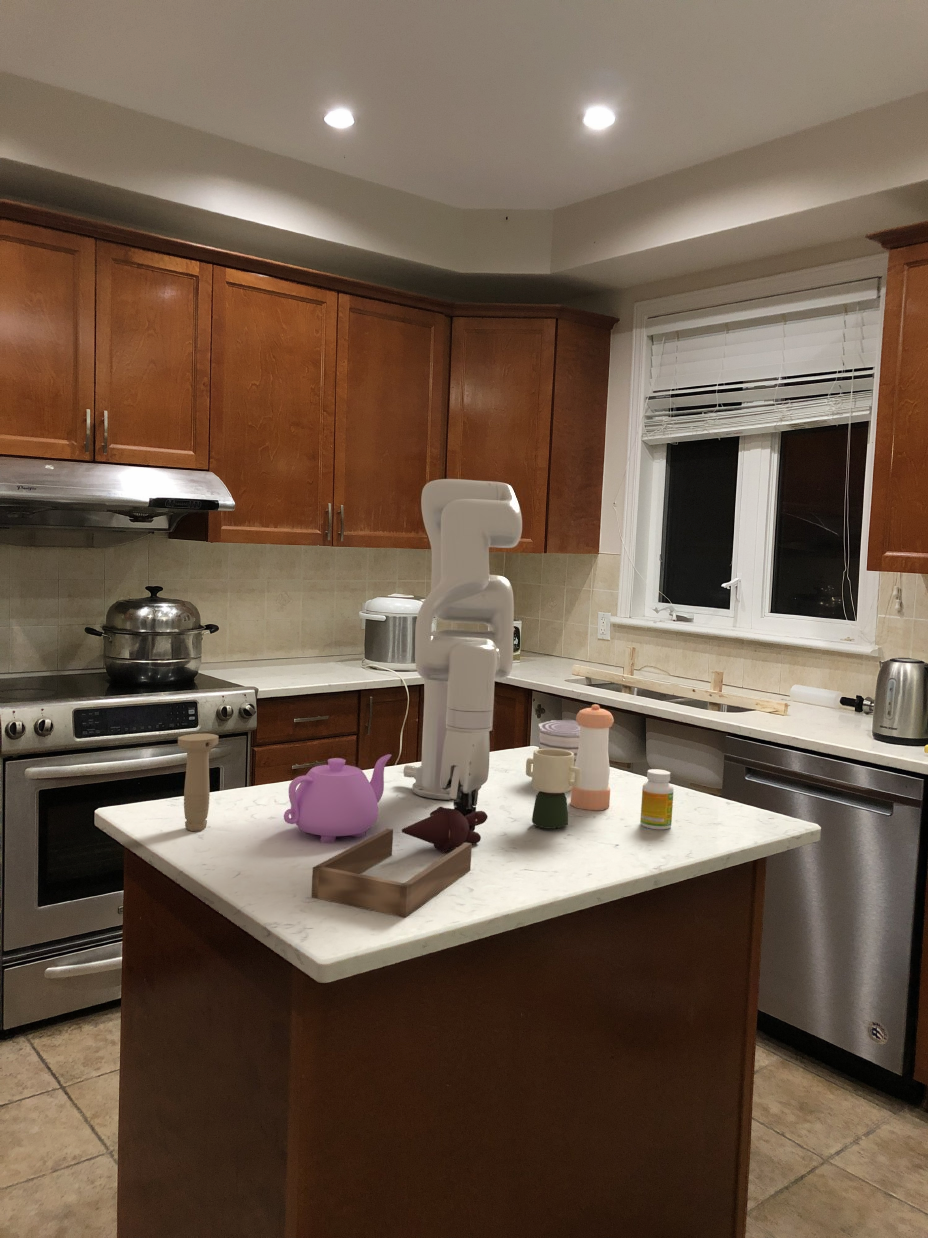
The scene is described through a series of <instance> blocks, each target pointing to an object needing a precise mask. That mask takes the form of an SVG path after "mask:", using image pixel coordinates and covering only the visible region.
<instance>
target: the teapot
mask: <svg viewBox="0 0 928 1238" xmlns="http://www.w3.org/2000/svg"><path fill="white" fill-rule="evenodd" d="M391 757H392V754H390V753H389V754H385V755H383V756H381V757H380V758H379V759H378V760H377V761H376V763H375V765H374V768H373V771H372V776H371V778H370V781H369V779H368V778H367V775H366V774H365V773H364V771H363V770H362V769H361V768H359V767H357V766H353V765H347V764H346V759H344V758H340V757H334V758H333V757H332V758H328V759H327V763H328V764H322V765H321V764H320V765H316V766H313V767H312V768H311V769H310V770H309V771H308V772H307V773H306V774H305V775H300V776H297V777H295V778H293V780H292V781H291V782H289V786H288V799H289V803H290V808H288V809H286V810H285V811H284V813H283V820H284V821H285V822H286V823H287V824H289V825H294V824H295V825H296V826H297V827H298V829H299V830H301V832H302V833H305V834H311V835H315V836H321V837H320V838H319V839H320V840H319V841H320V842H322V843H326V844H327V843H330V844H331V843H334V842H335V841H336V837H346V836H351V837H355V838H361V837H363V838H364V837H366V836H367V834H366V831H368V830H369V829H370V828H371V827H372V826H373V824H375V823H376V821H377V820H378V818H379V804H378V803H379V802H380V801H381V799H382V797H383V795H384V789H385V780H384V779H385V776H384V775H385V773H384V772H385V766H386V764H387V762H388V761H389V759H390V758H391Z"/></svg>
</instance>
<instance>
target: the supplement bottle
mask: <svg viewBox="0 0 928 1238" xmlns="http://www.w3.org/2000/svg"><path fill="white" fill-rule="evenodd" d="M646 772H647V774H646V779H647V780H648V781H645V782H644V783H643V785H642V789H641V792H642V793H641V808H640V820H639V821H640V823H639V824H640V825H641V826H642V827H644V828H647V829H650V830H668V829H671V827H672V821H673V820H672V819H673V807H674V805H673V804H674V787H673V785H672V784H671V783H669V782H670V781H671V771H667V770H665V769H660V768H659V769H656V768H654V769H652V768H651V769H648V770H647V771H646Z"/></svg>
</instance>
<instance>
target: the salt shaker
mask: <svg viewBox="0 0 928 1238" xmlns="http://www.w3.org/2000/svg"><path fill="white" fill-rule="evenodd" d="M575 721H577V723H578V725H580V732H579V747H578V752H577V757H576V762H575V766H574V767H577V768H579V769H580V770H581V779H580V785H579V787H575V786H572V788H571V790H570V805H571V806H572V807H574V808H577V809H580V810H588V811H602V810H606V809H609V808H610V804H611V802H610V801H611V787H610V786H609V785H610V774H611V773H610V772H611V769H610V767H611V766H610V760H609V759H610V758H609V739H610V738H609V736H610V735H609V734H610V733H609V732H610V728H612V727H613V724H614V722H615V720H614V716H613V715H612V713H611V712H610V711H608V710H606V709H604V708H601V706H600V705H599V704H596V703H595V704H592V705H591V707H586V708H583V709H580V710H579V712H577V714H576V716H575ZM574 781H575V773H574Z"/></svg>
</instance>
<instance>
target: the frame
mask: <svg viewBox="0 0 928 1238" xmlns="http://www.w3.org/2000/svg"><path fill="white" fill-rule="evenodd" d="M393 839H394V829H393V828H389V827H388V828H386V829H383V830H382V831H380V832H378V833H376V834H373V835H372V836H370V837H368V838H366V839H364V840H363V841H361V842H359V843H356V844H355V845H353V846H351V847H349V848H347V849H345V850H343V851H341V852H339V853H337V854H335V855H334V856H332V857H330V858H328V859H326V860H324V861H322V862H320V863H318V864H317V865H315V866H313V867H312V875H311V898H314V899H319V900H324V901H328V902H333V903H338V904H342V905H347V906H351V907H355V908H360V909H365V910H369V911H373V912H378V913H384V914H388V915H393V916H397V917H401V918H407V917H409V916H410V915H411V914H413V913H414V912H416V910H418V909H420V908H421V907H422V906H424V905H425V904H426V903H428V902H429V901H430V900H432V899H433V898H434V897H436V896H437V895H438V894H440V893H441V892H443V891H445V890H446V889H447V888H448V887H450V885H452V884H454V883H455V882H457V881H458V880H459V879H460V878H462V877H464V876H465V875H466V874H467V873H468V872H470V871H471V869H472V867H471V865H472V849H473V848H472V845H473V844H472V843H466V842H465V843H463V844H462V845H461V846H459V847H458V848H454V849H453V850H452V851H450V852H449V853H447V854H446V855H444V856H443V857H441V858H440V859H438V860H436V861H435V862H434V863H432V864H430V865H428V866H427V867H426V868H424V869H423V870H421V871H419V872H418V873H417V874H415V875H414V876H412V877H410V878H409V879H407V880H406V881H405V882H400V881H394V880H390V879H385V878H381V877H375V876H370V875H366V874H362V873H364V872H366V871H367V870H369V869H371V868H372V867H374V866H376V865H379V863H381V862H383V861H384V860H386V859H388V858H389V857H391V856H393Z"/></svg>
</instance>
